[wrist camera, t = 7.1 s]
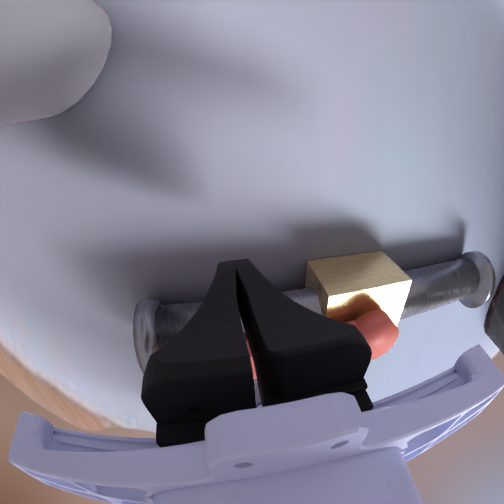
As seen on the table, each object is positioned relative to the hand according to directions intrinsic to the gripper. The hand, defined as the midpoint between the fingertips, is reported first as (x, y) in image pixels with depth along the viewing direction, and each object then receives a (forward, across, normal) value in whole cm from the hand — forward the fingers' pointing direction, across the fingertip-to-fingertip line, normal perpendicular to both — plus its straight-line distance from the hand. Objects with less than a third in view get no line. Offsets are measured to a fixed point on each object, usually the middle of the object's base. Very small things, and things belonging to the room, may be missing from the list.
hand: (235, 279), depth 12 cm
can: (+5, +9, -12) cm, 16 cm away
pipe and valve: (+5, -8, +6) cm, 11 cm away
